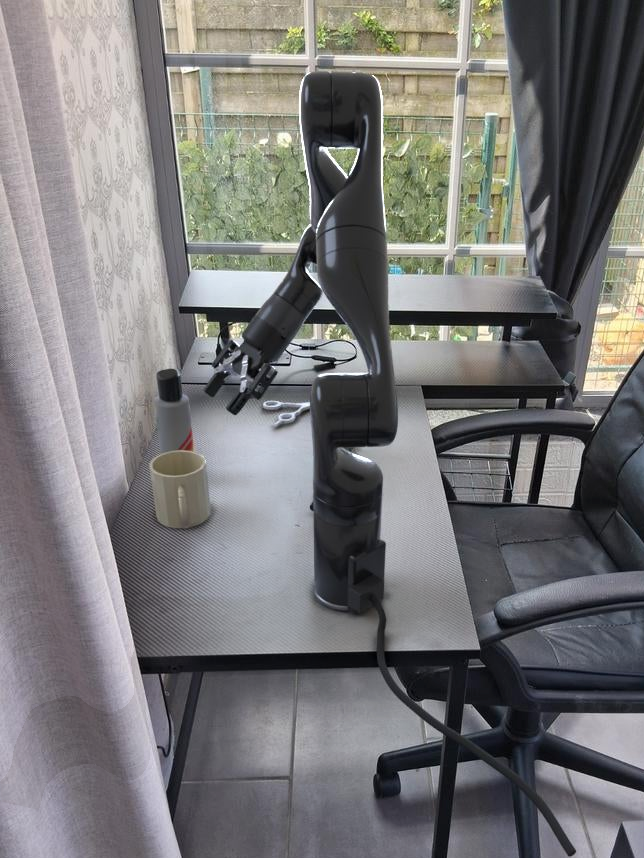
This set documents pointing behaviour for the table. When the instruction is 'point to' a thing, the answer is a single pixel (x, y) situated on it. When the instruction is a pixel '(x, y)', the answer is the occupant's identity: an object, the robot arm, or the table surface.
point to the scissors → (279, 404)
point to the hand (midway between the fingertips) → (218, 403)
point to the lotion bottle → (172, 413)
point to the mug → (180, 488)
